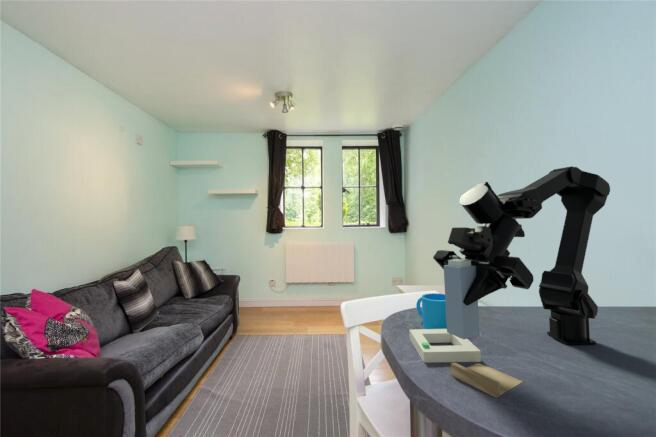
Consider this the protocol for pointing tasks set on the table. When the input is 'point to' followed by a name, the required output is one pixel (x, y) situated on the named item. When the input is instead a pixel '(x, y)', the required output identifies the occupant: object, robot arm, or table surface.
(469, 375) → the tan base plate
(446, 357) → the block
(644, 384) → the table surface
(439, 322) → the mug
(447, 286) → the plug
